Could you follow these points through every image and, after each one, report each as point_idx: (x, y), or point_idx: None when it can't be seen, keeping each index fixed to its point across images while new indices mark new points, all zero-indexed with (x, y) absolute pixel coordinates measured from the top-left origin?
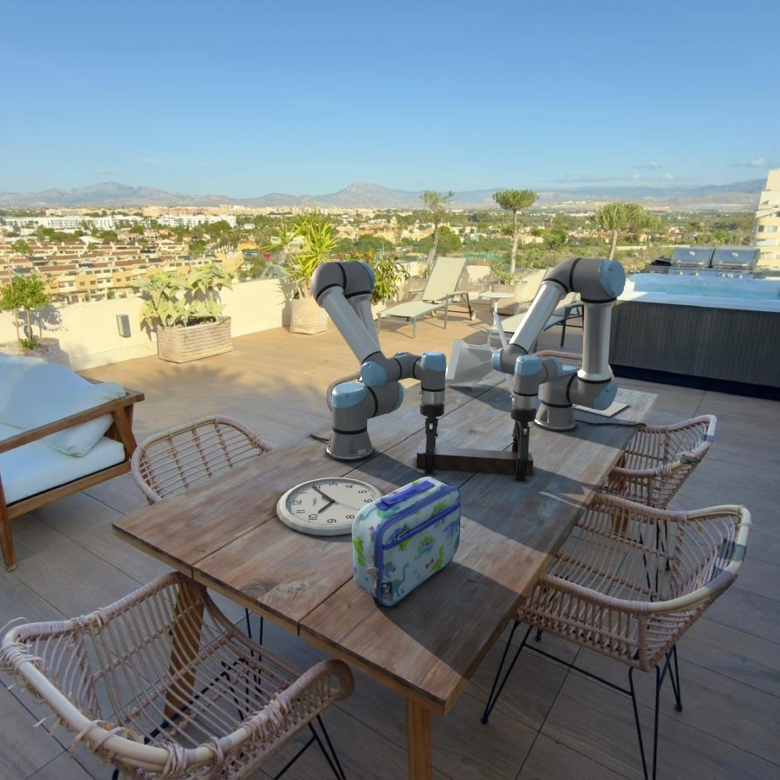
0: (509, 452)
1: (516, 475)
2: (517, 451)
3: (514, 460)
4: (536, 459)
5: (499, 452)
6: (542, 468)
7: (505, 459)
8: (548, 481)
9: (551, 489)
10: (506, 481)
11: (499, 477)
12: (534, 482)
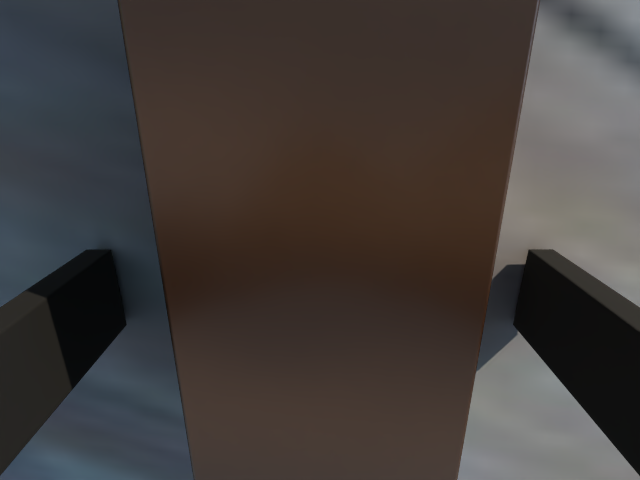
0: (447, 280)
1: (56, 273)
2: (591, 372)
3: (175, 320)
4: (562, 451)
5: (434, 90)
6: None
7: (148, 184)
8: (167, 474)
9: (42, 473)
10: (39, 156)
11: (109, 85)
12: (115, 388)
